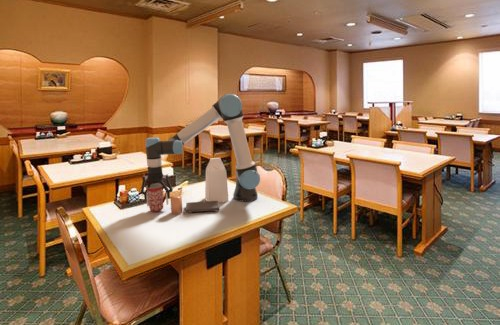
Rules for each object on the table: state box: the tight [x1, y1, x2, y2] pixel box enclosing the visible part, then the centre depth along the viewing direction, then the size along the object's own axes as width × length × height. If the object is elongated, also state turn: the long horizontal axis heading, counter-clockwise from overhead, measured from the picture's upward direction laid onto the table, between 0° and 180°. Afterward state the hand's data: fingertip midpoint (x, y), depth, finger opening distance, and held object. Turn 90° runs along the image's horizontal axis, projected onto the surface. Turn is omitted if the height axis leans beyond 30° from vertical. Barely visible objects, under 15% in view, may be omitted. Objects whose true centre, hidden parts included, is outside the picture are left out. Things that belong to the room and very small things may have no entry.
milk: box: [204, 157, 229, 203], centre depth 197 cm, size 12×12×26 cm
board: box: [185, 200, 220, 214], centre depth 183 cm, size 18×12×2 cm, turn 99°
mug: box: [145, 183, 166, 212], centre depth 180 cm, size 13×9×14 cm
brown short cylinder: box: [169, 194, 184, 215], centre depth 177 cm, size 6×6×9 cm
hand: (157, 204), depth 181 cm, fingers closed on mug, 10 cm apart
